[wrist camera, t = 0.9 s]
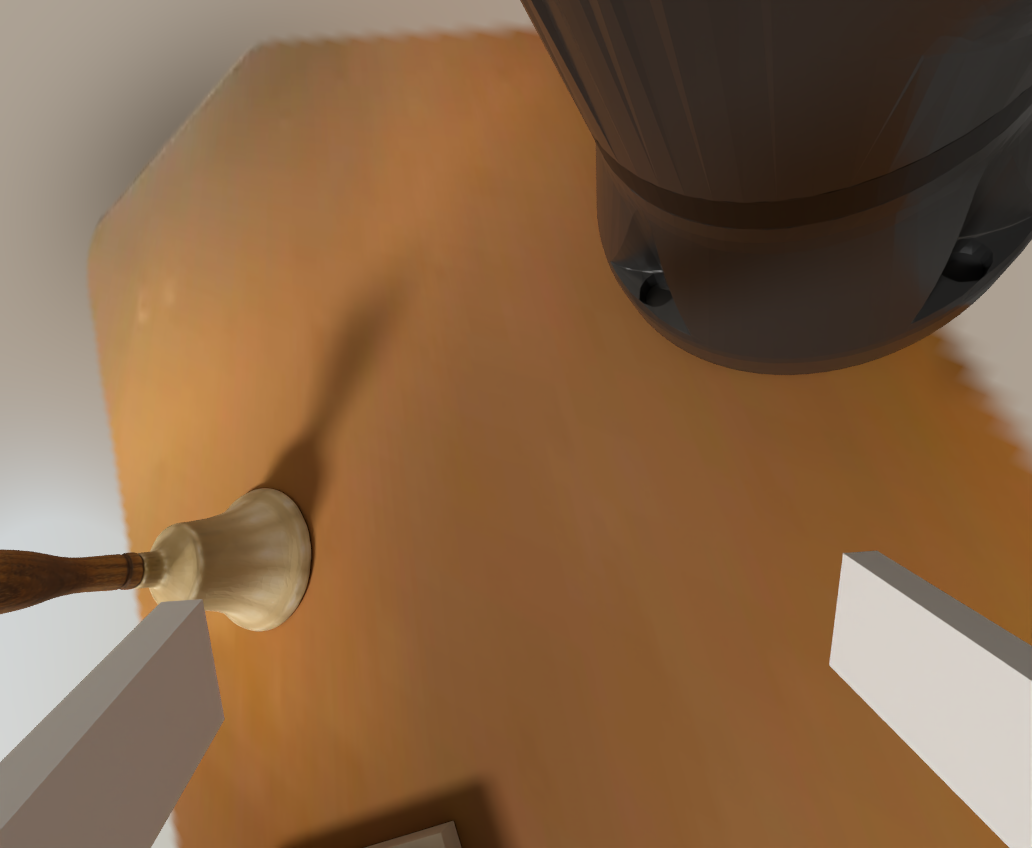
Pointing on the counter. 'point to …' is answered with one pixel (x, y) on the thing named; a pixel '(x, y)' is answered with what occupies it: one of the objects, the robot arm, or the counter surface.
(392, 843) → the rectangular tray
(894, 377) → the counter surface
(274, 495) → the hand bell
